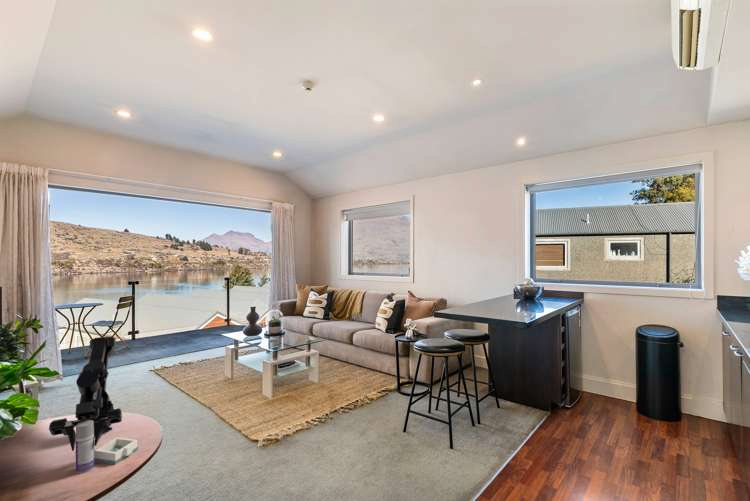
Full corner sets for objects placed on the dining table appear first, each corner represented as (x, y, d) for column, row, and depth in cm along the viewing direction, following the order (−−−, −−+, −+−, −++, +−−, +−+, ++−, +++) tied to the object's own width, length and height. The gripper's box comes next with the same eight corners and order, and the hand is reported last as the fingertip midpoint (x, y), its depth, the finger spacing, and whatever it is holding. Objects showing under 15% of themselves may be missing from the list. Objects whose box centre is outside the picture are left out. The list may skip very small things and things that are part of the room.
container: (78, 466, 118) (78, 421, 118) (96, 463, 120) (96, 418, 120) (73, 474, 114) (73, 427, 114) (91, 471, 115) (91, 425, 115)
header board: (93, 461, 121) (93, 450, 121) (117, 446, 130) (117, 437, 130) (117, 464, 119) (117, 454, 119) (140, 449, 128) (140, 440, 128)
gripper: (50, 396, 115) (40, 446, 106) (120, 385, 125) (117, 430, 115) (56, 411, 122) (47, 459, 113) (123, 399, 131) (120, 443, 122)
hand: (84, 447), depth 115 cm, fingers open, 5 cm apart
